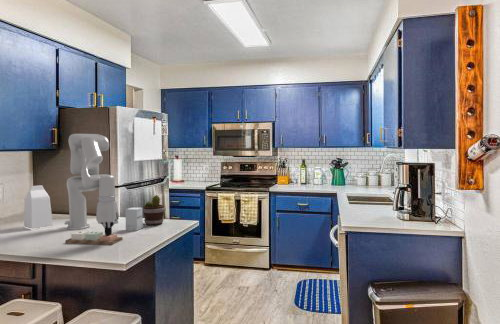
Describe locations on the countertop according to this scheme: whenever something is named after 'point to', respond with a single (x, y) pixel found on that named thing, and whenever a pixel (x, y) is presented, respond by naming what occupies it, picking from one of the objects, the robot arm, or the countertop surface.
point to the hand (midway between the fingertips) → (108, 234)
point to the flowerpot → (153, 211)
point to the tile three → (108, 237)
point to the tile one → (79, 235)
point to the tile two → (93, 235)
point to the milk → (37, 208)
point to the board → (94, 241)
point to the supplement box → (134, 219)
